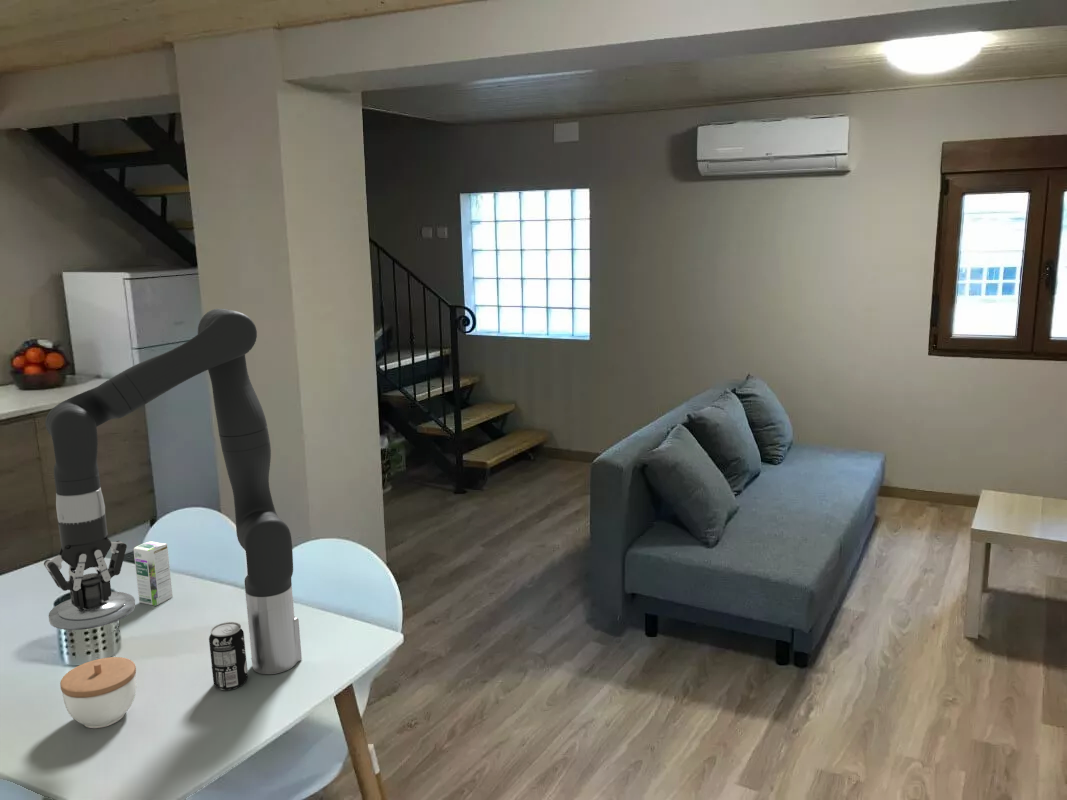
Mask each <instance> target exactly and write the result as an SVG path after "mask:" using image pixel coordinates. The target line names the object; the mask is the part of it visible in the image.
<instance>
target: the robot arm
mask: <svg viewBox="0 0 1067 800" xmlns="http://www.w3.org/2000/svg"><path fill="white" fill-rule="evenodd" d="M257 330H258V329H257V327H256V325H255V323H254V321H253V320H252V319H251V318H250V316H249V315H247V314H245V313H243V312H240V311H238V310H232V309H227V308H214V309H211V310H208V311H207V312H206V313H205V314H204V315H203V316H202V317H201V319H200V321H199V323H198V326H197V334H196V335H195V336H194V337H192V338H191V339H190V340H187V341H186V342H184V343H183V344H181V345H178V346H176V347H175V348H173V349H171V350H169V351H167V352H163V353H161V354H159V355H156V356H154V357H151V358H148V359H145V360H143V361H141V362H139V363H137V364H134V365H132V366H131V367H128V368H127V369H125V370H123V371H122V372H119V373H118V374H116V375H114V376H112V377H111V378H109V379H107V380H105V381H104V382H102V383H101V384H100V385H98V386H95V387H94V388H91V389H88V390H86V391H83V392H81V393H80V394H76V395H74V396H72V397H69V398H67V399H65V400H63V401H62V402H60V403H58V404H57V405H55V406H54V407H53V408H51V410H50V411H48V414H47V415H46V418H45V423H44V424H45V428H46V431H47V433H48V435H50V437H51V439H52V445H53V453H54V459H55V464H54V467H53V478H54V486H55V508H56V515H57V516H56V517H57V524H58V532H59V541H60V550H59V552H58V555H57V556H55V557H53V558H52V559H46V560H45V561H44V562H43V566H44V567H45V569H46V570H47V572H48V573H49V575H50V576H51V578H52V580H53V581H54V583H55V584H56V586H57V587H58V588H59V589H61V590H62V591H64V592H65V591H69V592H70V593H69V594H70V599H71V602H72V604H73V605H74V606H75V607H77V608H78V609H82V608H84V602H83V594H82V589H81V588H80V586H81V579H82V578H83V575H84V574H85V573H84V572H85V571H86V570H88V569H91V568H94V569H95V571H96V572H95V573H98V574H101V576H102V581H101V582H100V587H101V597H102V600H103V601H107V600H109V597H110V596H111V592H112V587H111V579H112V578H113V577H115V576H119V575H120V574H121V571H122V567H123V562H124V558H125V554H126V552H127V551H126V550H127V548H128V546H127V544H126V543H125V542H122V541H121V540H116V541H111V540H110V539H109V536H108V527H107V526H108V525H107V517H106V504H105V501H104V495H103V492H102V487H101V479H100V470H99V465H98V442H99V441H98V440H99V439H98V428H97V427H99V426H101V425H102V424H104V423H106V422H108V421H111V420H114V419H115V420H116V419H121V418H124V417H126V416H128V415H131V414H132V412H135V411H137V410H138V409H140V408H142V407H143V406H145V405H147V404H148V403H150V402H152V401H153V400H155V399H157V398H159V397H160V396H162V395H163V394H165V393H167V392H168V391H170V390H172V389H174V388H176V387H177V386H178V385H180V384H182V383H184V382H186V381H188V380H190V379H191V378H194V377H196V376H197V375H201V373H204V372H206V371H208V374H209V379H210V383H211V389H212V395H213V404H214V411H215V418H216V422H217V431H218V436H219V441H220V447H221V451H222V455H223V460H224V463H225V468H226V472H227V475H228V480H229V483H230V486H231V489H232V490H231V491H232V494H233V500H234V501H233V504H234V514H235V530H236V538H237V541H238V543H239V545H240V546H241V547H242V549H243V550H244V551H245V558H246V570H247V571H246V573H247V574H246V577H245V578H244V589H245V590H244V591H245V602H246V613H247V620H248V631H249V632H248V633H249V634H248V635H249V643H250V645H249V646H250V654H251V655H250V656H251V658H250V659H251V664H252V665H251V666H252V669H253V671H254V672H255V673H257V674H261V675H274V674H275V675H276V674H279V673H284V672H286V671H288V670H291V669H292V668H293V667H294V666H296V665H297V664H298V662H300V661H301V660H302V659H303V657H302V645H301V634H300V631H301V630H300V620H299V618H298V617H296V616H295V609H294V608H295V607H294V597H293V586H292V585H293V584H292V577H293V574H294V556H293V555H294V554H293V539H292V534H291V531H290V528H289V526H288V525H287V524H286V522H285V521H284V520H282V519H281V518H280V517H279V516H278V513H277V512H276V509H275V504H274V502H273V498H272V494H271V493H272V492H271V488H270V482H269V481H270V470H271V469H270V468H271V459H272V458H271V457H272V449H271V448H272V447H271V441H270V434H269V429H268V424H267V420H266V415H265V411H264V410H263V407H262V404H261V403H260V400H259V398H258V396H257V394H256V391H255V389H254V386H253V385H252V382H251V379H250V376H249V372H248V368H247V360H246V359H247V358H246V355H247V354H248V353H249V352H250V351H251V350H252V349H253V348H254V347H255V344H256V342H257V338H258V331H257ZM109 551H110V553H111V557H110V560H109V564H108V565H107V564H106V560H105V558H106V556H107V554H108V553H109ZM62 562H65V563H66V564H67V565H68V580H66V577H65V576H64V574H63V573H62V572H61V571H60V570H61V569H62V568H63V565H62Z"/></svg>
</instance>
